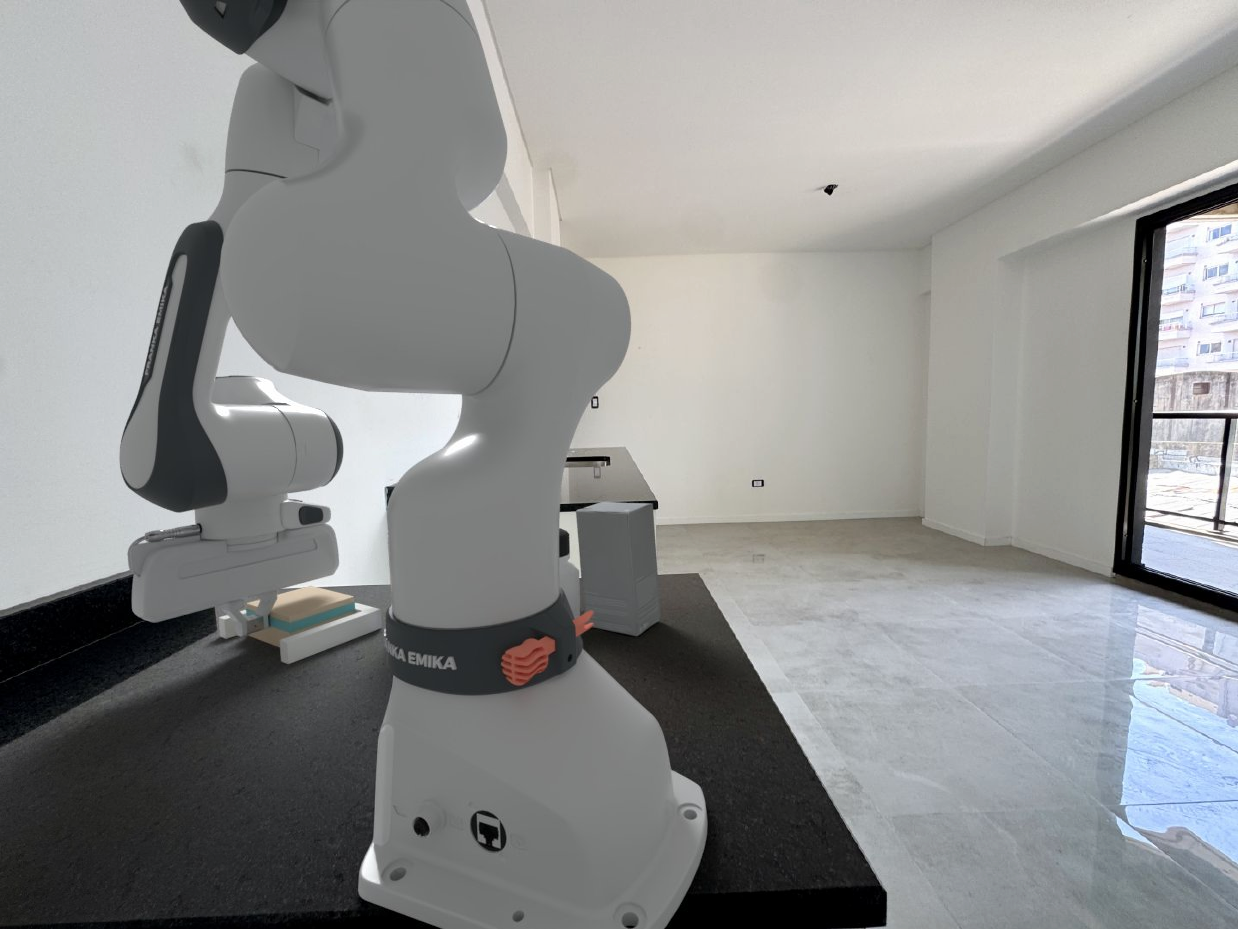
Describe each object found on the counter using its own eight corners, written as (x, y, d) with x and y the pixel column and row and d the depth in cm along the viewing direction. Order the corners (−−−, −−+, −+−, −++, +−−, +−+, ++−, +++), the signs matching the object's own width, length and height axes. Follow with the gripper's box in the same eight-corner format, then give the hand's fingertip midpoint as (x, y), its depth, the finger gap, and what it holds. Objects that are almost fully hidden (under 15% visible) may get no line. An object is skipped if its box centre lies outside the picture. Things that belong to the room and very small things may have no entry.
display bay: (381, 627, 67) (380, 609, 66) (288, 664, 57) (286, 642, 56) (312, 607, 75) (311, 591, 74) (220, 636, 65) (218, 617, 64)
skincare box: (661, 621, 67) (660, 502, 66) (633, 641, 61) (631, 510, 60) (608, 610, 72) (605, 498, 70) (577, 627, 66) (574, 505, 64)
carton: (356, 630, 67) (354, 596, 67) (291, 654, 60) (288, 617, 60) (312, 616, 72) (310, 585, 72) (248, 637, 65) (245, 603, 65)
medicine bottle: (569, 604, 74) (566, 523, 73) (581, 622, 67) (578, 532, 66) (519, 610, 72) (516, 527, 71) (526, 629, 65) (523, 537, 64)
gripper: (138, 537, 49) (150, 676, 50) (343, 506, 67) (348, 609, 68) (113, 531, 52) (126, 661, 53) (315, 503, 70) (321, 601, 71)
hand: (252, 632), depth 61 cm, fingers closed
